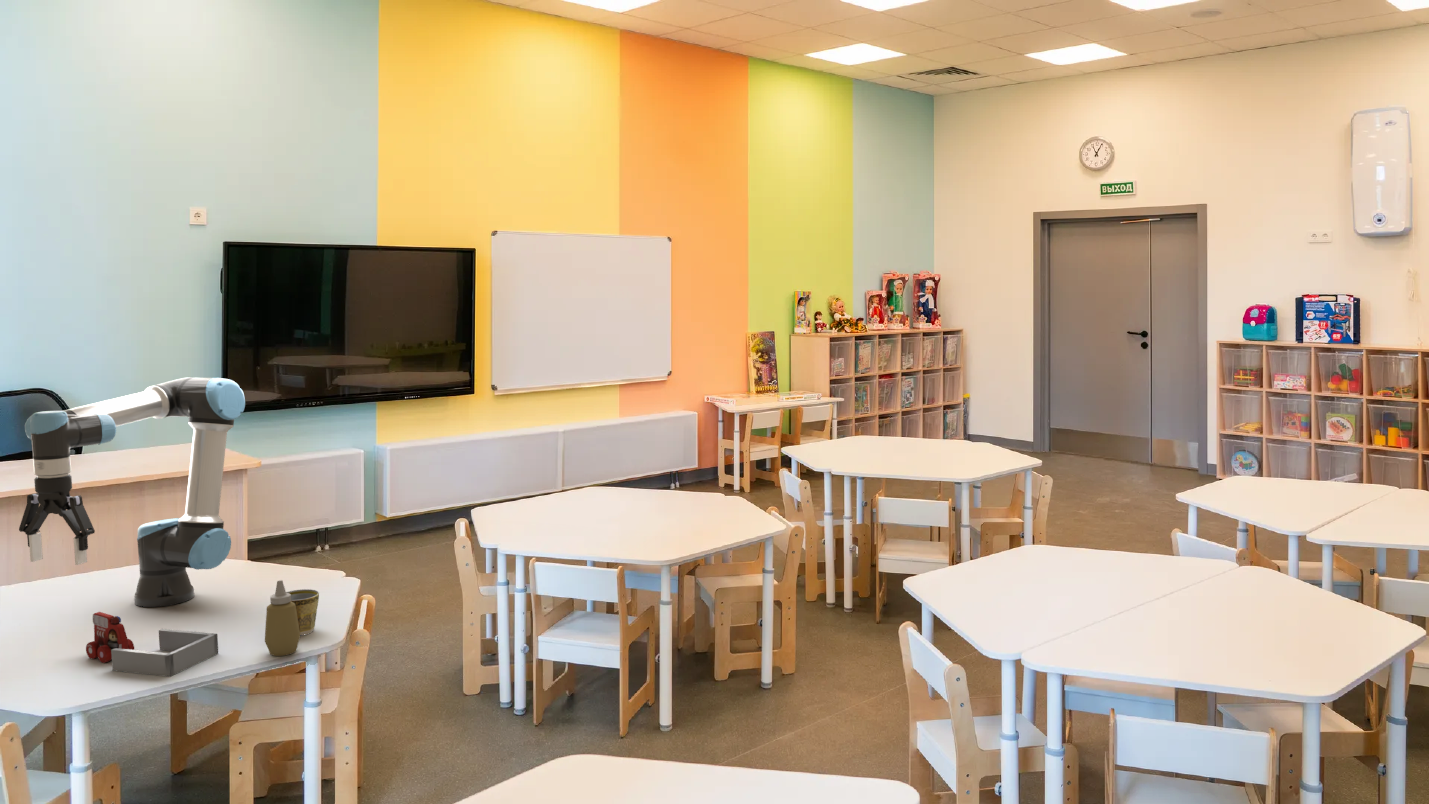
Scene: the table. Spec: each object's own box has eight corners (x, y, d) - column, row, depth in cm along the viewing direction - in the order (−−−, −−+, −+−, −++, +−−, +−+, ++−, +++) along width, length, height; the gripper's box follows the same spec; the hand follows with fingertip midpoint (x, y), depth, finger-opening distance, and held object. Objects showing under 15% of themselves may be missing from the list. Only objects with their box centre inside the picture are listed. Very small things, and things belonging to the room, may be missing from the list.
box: (112, 670, 232) (111, 649, 232) (163, 648, 247) (162, 628, 247) (170, 676, 229) (169, 655, 228) (218, 653, 244) (217, 633, 243)
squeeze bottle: (288, 644, 250) (285, 574, 248) (307, 651, 245) (304, 579, 243) (258, 654, 243) (254, 582, 241) (277, 660, 239) (273, 587, 237)
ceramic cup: (327, 632, 259) (325, 594, 258) (288, 641, 252) (286, 602, 251) (306, 620, 268) (304, 584, 267) (268, 629, 261) (266, 592, 260)
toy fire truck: (110, 666, 236) (107, 623, 235) (82, 656, 242) (79, 615, 241) (140, 657, 242) (137, 615, 240) (111, 648, 248) (109, 607, 247)
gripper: (-3, 475, 240) (3, 562, 242) (81, 479, 234) (87, 568, 236) (25, 470, 247) (31, 555, 249) (108, 474, 241) (113, 560, 244)
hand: (58, 562), depth 243 cm, fingers open, 12 cm apart
